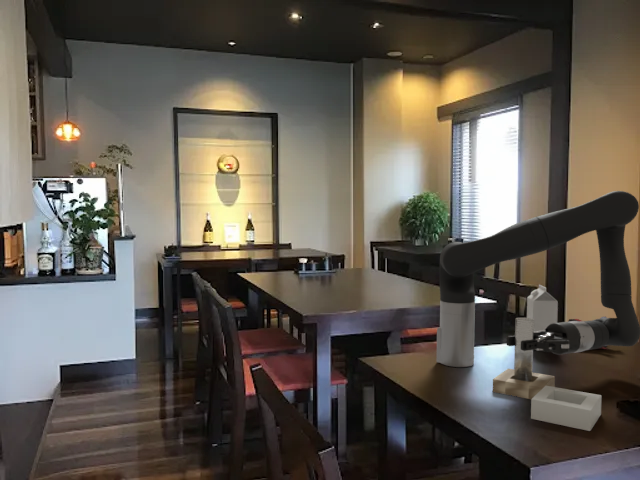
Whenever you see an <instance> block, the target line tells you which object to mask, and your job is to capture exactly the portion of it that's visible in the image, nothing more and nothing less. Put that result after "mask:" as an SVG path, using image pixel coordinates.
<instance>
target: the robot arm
mask: <svg viewBox="0 0 640 480" xmlns="http://www.w3.org/2000/svg"><path fill="white" fill-rule="evenodd" d="M639 207H640V205H639V201H638V199H637V198H636V196H634V195H633V194H631V193H630V192H628V191H623V190H613V191H610V192H607V193H605V194H603V195H601V196H598V197H597V198H595V199H593V200H590V201H587V202H585V203H583V204H580V205H577V206H574V207H569V208H565V209H561V210H560V209H559V210H557V211H552V212H548V213H546V214H542V215H538V216H535V217H534V216H533V217H532V218H529V219H525V220H522V221H519V222H518V223H517V222H516V223H515V224H514V223H513V225H511V226H508V227H506V228H505V229H502V230H501V231H499V232H497V233H495V234H491V235H490V236H487V237H483V238H479V239H475V240H471V241H466V242H461V241H453V242H450V243H447V245H445V246H444V247H443V248H442V249H441V252H440V255H439V294H440V295H439V297H440V299H439V300H440V301H439V303H440V304H439V306H440V307H439V327H437V328H436V363H440V364H441V365H444V366H447V367H448V366H449V367H452V368H453V367H454V368H455V367H456V368H466V367H471V366H473V365H474V364H475V363H474V361H475V321H476V320H475V318H476V317H475V316H476V315H475V313H476V311H475V310H476V307H475V306H476V302H475V301H476V292H475V286H474V274H475V273H476V272H479V271H481V270H483V269H486V268H488V267H491V266H493V265H497V264H499V263H502V262H507V261H512V260H515V259H520V258H524V257H527V256H531V255H535V254H539V253H541V252H545V251H548V250H551V249H554V248H556V247H559V246H561V245H563V244H565V243H567V242H568V243H569V242H570V241H571V240H572V241H573V240H574V239H577V238H579V237H580V236H583V235H584V234H588V233H591V232H594V231H595V232H596V237H597V243H598V251H599V265H600V271H599V272H600V302H601V305H602V306H603V307H605V308H607V309H612V310H613V312H614V314H615V317H607V318H601V317H600V318H595V319H592V320H581V321H580V322H579V321H570V322H568V321H562V322H557V323H552V324H550V325H549V326H547V328H546V329H545V330H538V331H534V332H533V339H532V340H523V341H521V350H523V351H527V350H533V351H542V352H544V353H552V354H555V355H568V354H575V353H581V352H585V351H590V350H591V351H592V350H596V349H598V348H601V347H606V346H605V345H607V346H614V347H616V346H617V347H633V346H635V345H636V344H637V343H638V342H639V340H640V323H639V319H638V317H637V313H636V310H635V307H634V304H633V302H632V301H633V300H632V299H633V298H632V278H631V277H632V276H631V271H630V267H629V263H628V259H627V255H626V250H625V231H626V225H628V224H630V223H631V222H632V221H633V220H634V219H635V218H636V216H637V215H638V212H639V210H640V209H639ZM506 346H508V347H515V335H508V336H506Z"/></svg>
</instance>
